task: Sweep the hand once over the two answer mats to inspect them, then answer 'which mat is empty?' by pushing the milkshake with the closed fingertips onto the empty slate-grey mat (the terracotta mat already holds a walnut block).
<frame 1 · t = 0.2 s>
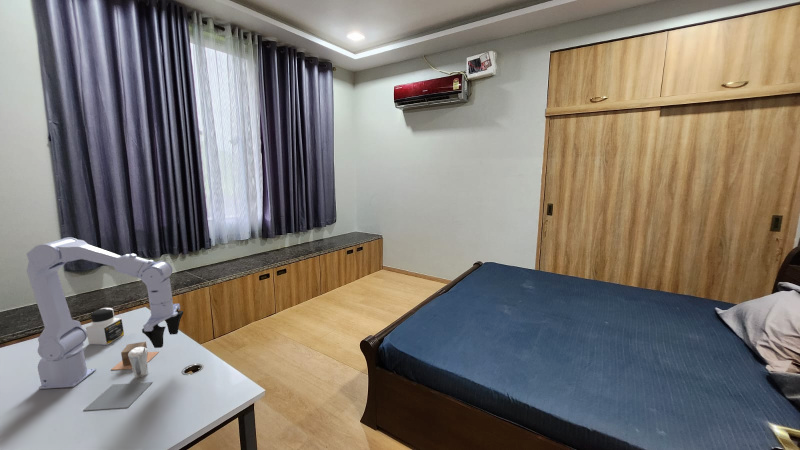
hand: (166, 340, 99), 10 cm above the table, fingers open, 7 cm apart
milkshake: (142, 375, 97), on the table
tile terracotta: (136, 360, 104), on the table
medicine bottle: (107, 340, 117), on the table
tile slate: (119, 395, 89), on the table
walnut block: (136, 360, 104), resting on tile terracotta
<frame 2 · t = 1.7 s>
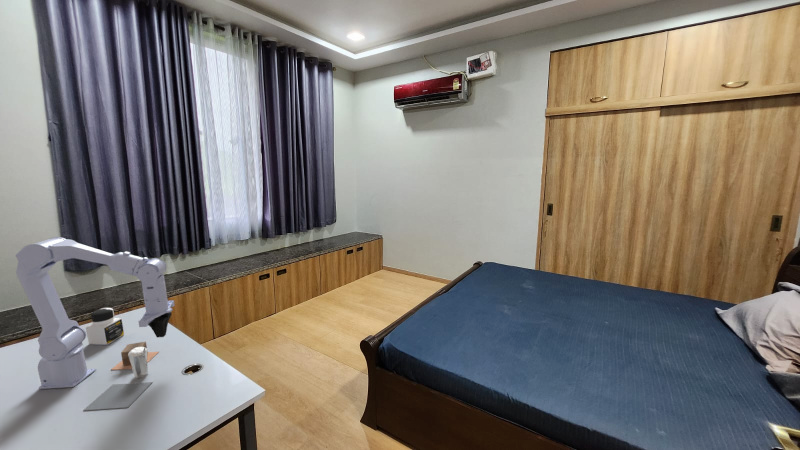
hand: (161, 336, 101), 10 cm above the table, fingers closed
nothing on the table moved.
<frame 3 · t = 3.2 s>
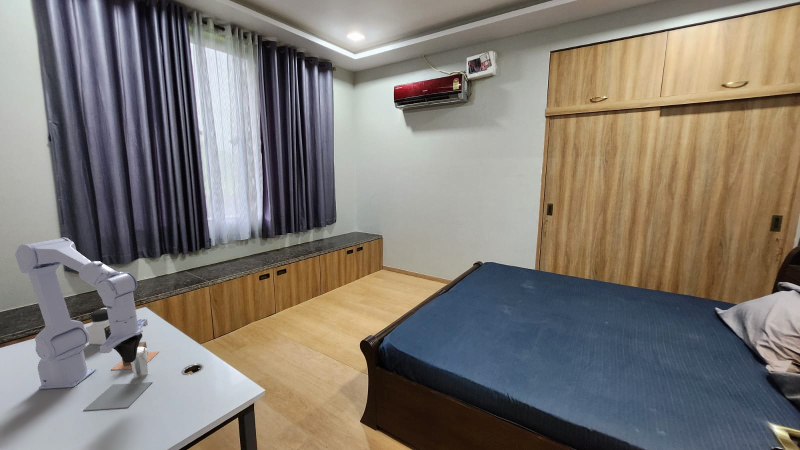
hand: (130, 361, 88), 10 cm above the table, fingers closed
nothing on the table moved.
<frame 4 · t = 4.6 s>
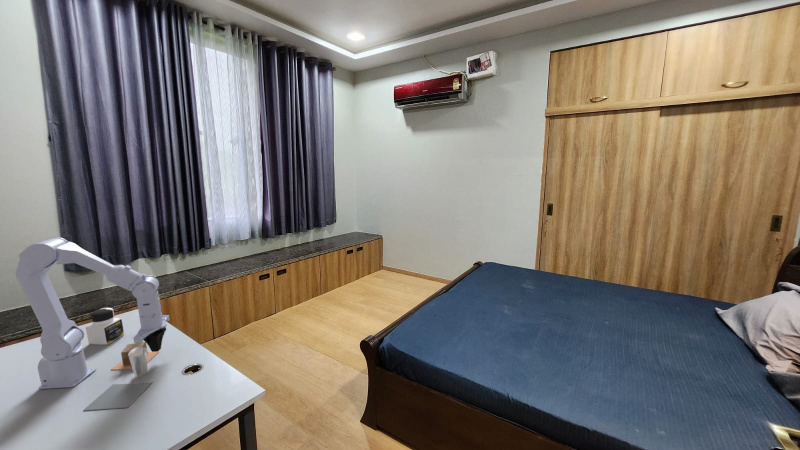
hand: (156, 350, 104), 4 cm above the table, fingers closed
nothing on the table moved.
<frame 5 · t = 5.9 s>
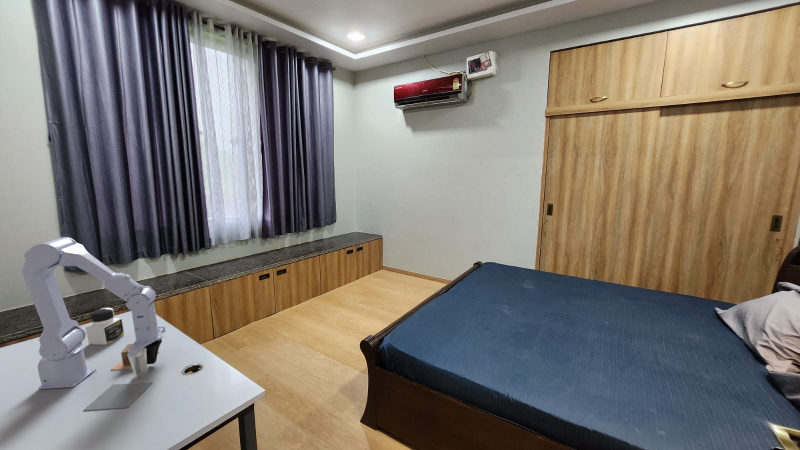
hand: (151, 362, 102), 1 cm above the table, fingers closed
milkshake: (142, 375, 97), on the table, touching gripper
everything else where it was.
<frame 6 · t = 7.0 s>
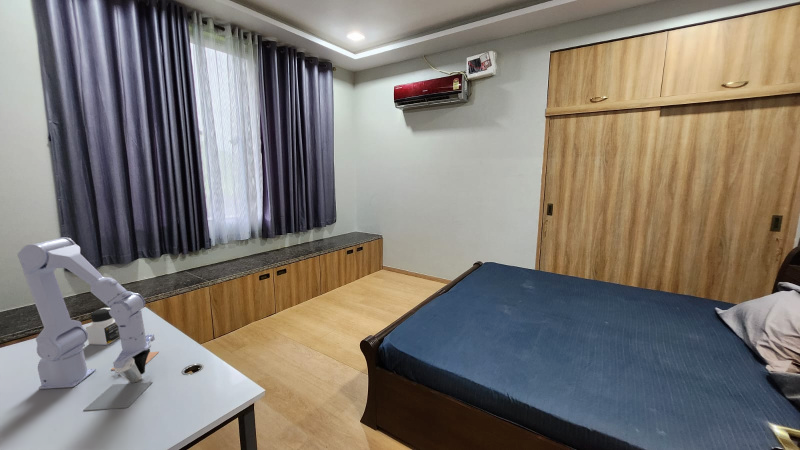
hand: (139, 373, 96), 1 cm above the table, fingers closed, pressing on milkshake
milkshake: (137, 379, 95), on the table, touching gripper, tile slate
everything else where it was.
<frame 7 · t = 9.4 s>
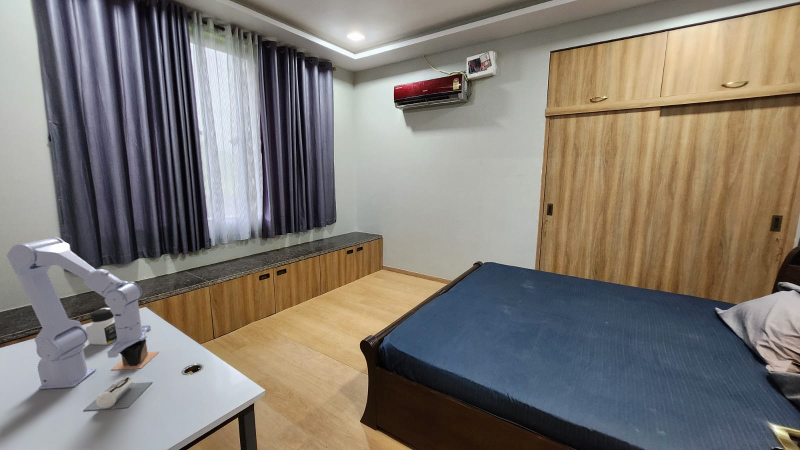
hand: (134, 364, 94), 5 cm above the table, fingers closed
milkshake: (129, 382, 92), point 2 cm above the table, touching tile slate
everything else where it was.
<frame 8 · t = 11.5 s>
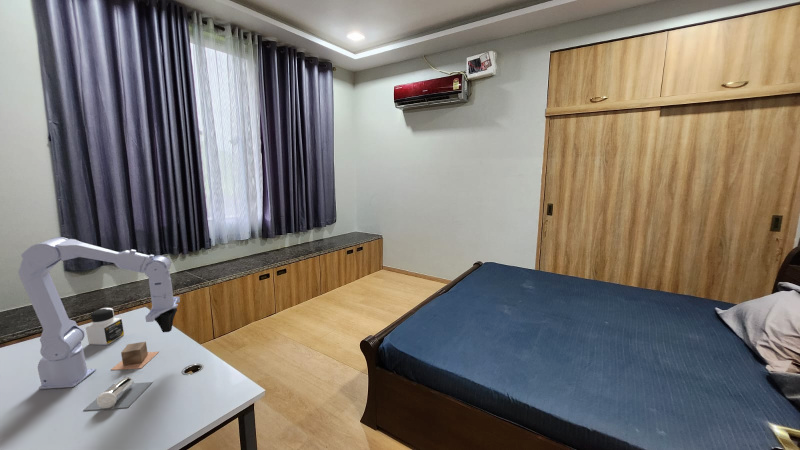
hand: (167, 331, 104), 10 cm above the table, fingers closed
nothing on the table moved.
at the end: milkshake inside the target area on the tile slate (3.6 cm from its centre), point 1.5 cm above the tile slate's base; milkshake moved 5.6 cm from its start; walnut block moved 0.0 cm from its start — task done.
